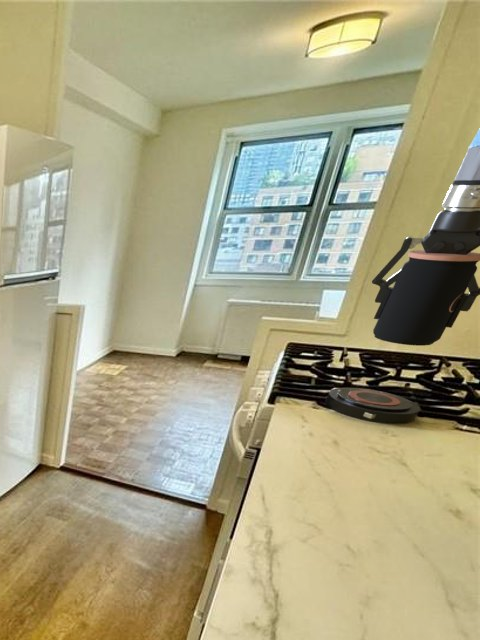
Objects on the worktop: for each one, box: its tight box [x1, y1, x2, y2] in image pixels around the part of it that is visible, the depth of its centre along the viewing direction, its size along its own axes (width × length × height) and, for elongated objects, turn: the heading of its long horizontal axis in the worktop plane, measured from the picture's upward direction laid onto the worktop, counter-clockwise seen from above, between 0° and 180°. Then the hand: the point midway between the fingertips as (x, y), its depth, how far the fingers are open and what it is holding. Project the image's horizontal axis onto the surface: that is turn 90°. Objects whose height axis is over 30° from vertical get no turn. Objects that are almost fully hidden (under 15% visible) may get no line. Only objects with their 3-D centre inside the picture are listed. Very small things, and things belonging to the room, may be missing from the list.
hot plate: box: [324, 387, 421, 425], centre depth 115 cm, size 16×16×3 cm
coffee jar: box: [372, 249, 480, 347], centre depth 103 cm, size 11×11×18 cm
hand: (411, 321), depth 105 cm, fingers closed on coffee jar, 11 cm apart
